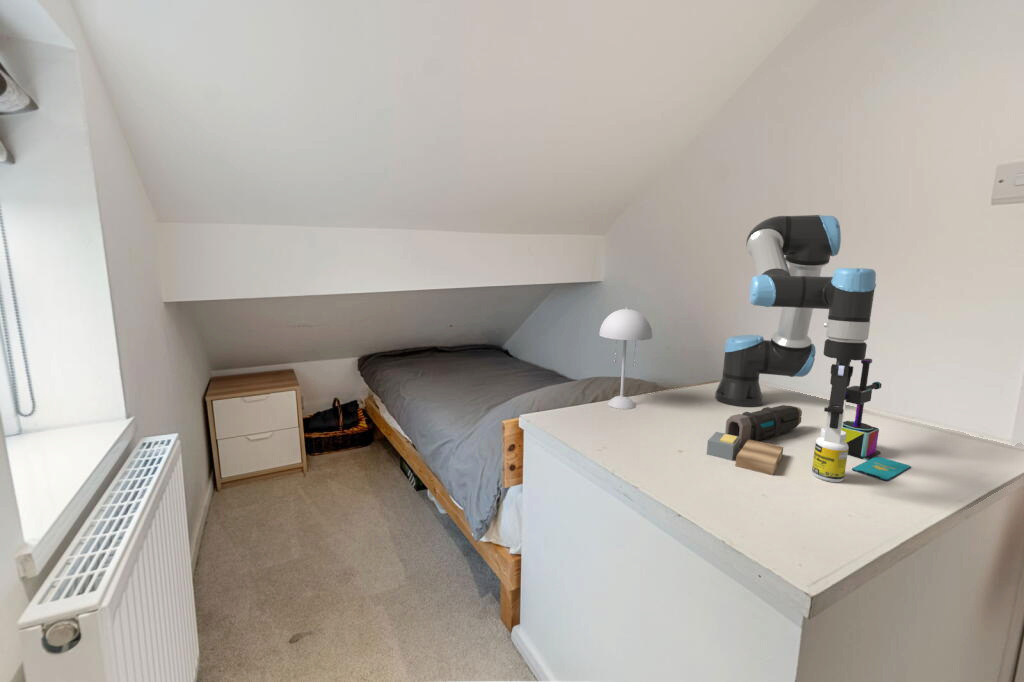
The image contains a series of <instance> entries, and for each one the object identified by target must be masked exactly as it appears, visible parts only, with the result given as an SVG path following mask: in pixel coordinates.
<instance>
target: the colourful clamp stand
mask: <svg viewBox="0 0 1024 682" xmlns="http://www.w3.org/2000/svg"><path fill="white" fill-rule="evenodd" d="M860 363H861V364H862V368H861V374H860V375H861V376H860V382H859V385H851V386H849V387H847V394H846V395H850V399H849V400H848V399H844V400H846V403H848V404H849V403H851V404H855V405H857V406H856V410H855V417H854V421H852V420H846V421H843V427H842V428H841V430H842V431H844V432H846V439H845V440H844V441H845V442H846V443H847V444H848V455H847V456H851V457H853V458H856V459H860V460H863V461H868V460H870V459H872V458H874V457H876V456H879V455H881V454H882V452H881V451H880V450H877V445H878V441H879V440H878V438H879V433H880V429H879V428H878V427H877V426H872V425H869V424H867V423H865V422H864V423H863V422H862V421H863V413H864V412H863V411H864V406H865V403H869V402H871V399H872V394H873V390H880V389H881V388H882V382H880V381H873V382H872V383H871V384H869V385H867V384H868V379H869V378H868V377H869V372H870V365H871V364H872V363H873V359H872V358H867V357H866V358H864V359H863V360H860Z"/></svg>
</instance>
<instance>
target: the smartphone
mask: <svg viewBox="0 0 1024 682" xmlns="http://www.w3.org/2000/svg"><path fill="white" fill-rule="evenodd" d="M909 469H912V466H910V464H906V463H904V462H900V461H896V460H894V459H888V458H885V457H882V456H879V455H877V456H875V457H873V458H871V459H869V460H865V461H864V462H862V463H860V464H858V465H856V466H854V467H852V468H851V470H852V472H855V473H858V474H861V475H865V476H868V477H871V478H874V479H877V480H879V481H883V482H889V481H891V480H893V479H895V478H897V477H898V476H900V475H901V474H903V473H904V472H906V471H908V470H909Z"/></svg>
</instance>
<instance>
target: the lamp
mask: <svg viewBox="0 0 1024 682" xmlns="http://www.w3.org/2000/svg"><path fill="white" fill-rule="evenodd" d="M652 330H653V329H652V327H651V324H650V322H649V321H648V319H647V318H646V317H645V316H644V315H643V314H642V313H641V312H639V311H637V310H633V309H631V308H629V307H625V308H623V309H618V310H615V311H613V312H612V313H610V314H609V315H607V317H606V318H605V319H604V320H603V322H602V324H601V325H600V329H599V334H598V335H599V336H600V337H602V338H605V339H611V340H615V343H617V341H618V340H621V341H622V343H623V345H622V359H621V360H622V362H621V377H620V378H621V379H620V393H619V394H620V395H617V396H614V397H612V398H611V399H609V400H608V402H607V406H609V407H610V408H614V409H621V410H631V409H634V408H636V405H635V402H634V401H633V400H632V399H631V398H629V397H628V396H625V395H624V392H625V375H626V358H627V343H628V341H635V342H634V347H637V346H636V342H637V341H647V340H651V339H653V331H652ZM635 353H636V352H634V353H633V354H634V355H633V358H634V359H633V365H632V366H633V367H636V364H635V363H636V360H635V357H636V354H635ZM616 357H617V349H615V353H614V360H613V361H614V363H616V362H617V358H616Z"/></svg>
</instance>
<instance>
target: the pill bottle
mask: <svg viewBox="0 0 1024 682" xmlns="http://www.w3.org/2000/svg"><path fill="white" fill-rule="evenodd" d="M825 429H826V427H822V428H821V429H820V430H821V431H820V435H821V436H820V437H818V438H816V440H815V444H814V445H815V446H814V453H813V459H812V465H811V473H812V475H813V476H814V477H815V478H817V479H820V480H822V481H824V482H828V483H830V482H831V483H840V482H842V481H844V479H845V476H846V475H845V473H846V467H847V459H848V456H849V455H848V444H847V443H846V442H845V441H844V440H845V439H846V432H844V431H842V430H841V435H840V443H839V444H837V443H832V442H826V441H824V437H825Z"/></svg>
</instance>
